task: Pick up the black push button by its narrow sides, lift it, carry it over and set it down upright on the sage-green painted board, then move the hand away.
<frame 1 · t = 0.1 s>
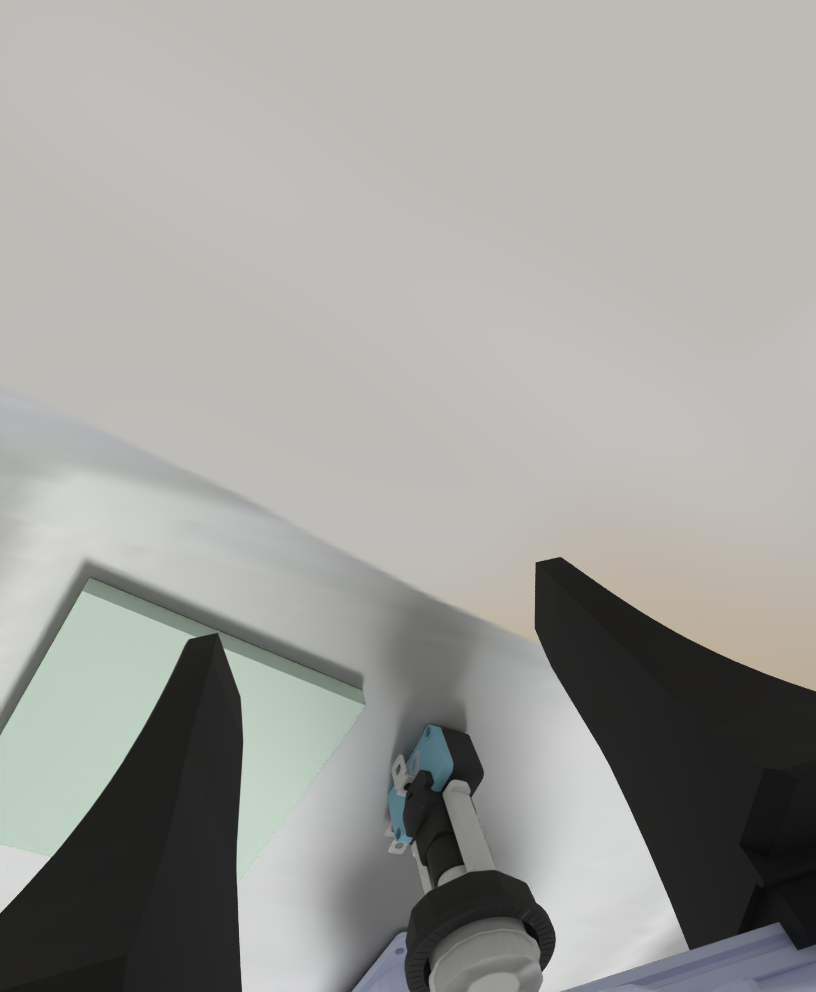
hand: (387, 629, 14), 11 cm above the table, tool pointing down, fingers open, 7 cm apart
sage board: (167, 748, 26), on the table
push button: (416, 771, 30), on the table
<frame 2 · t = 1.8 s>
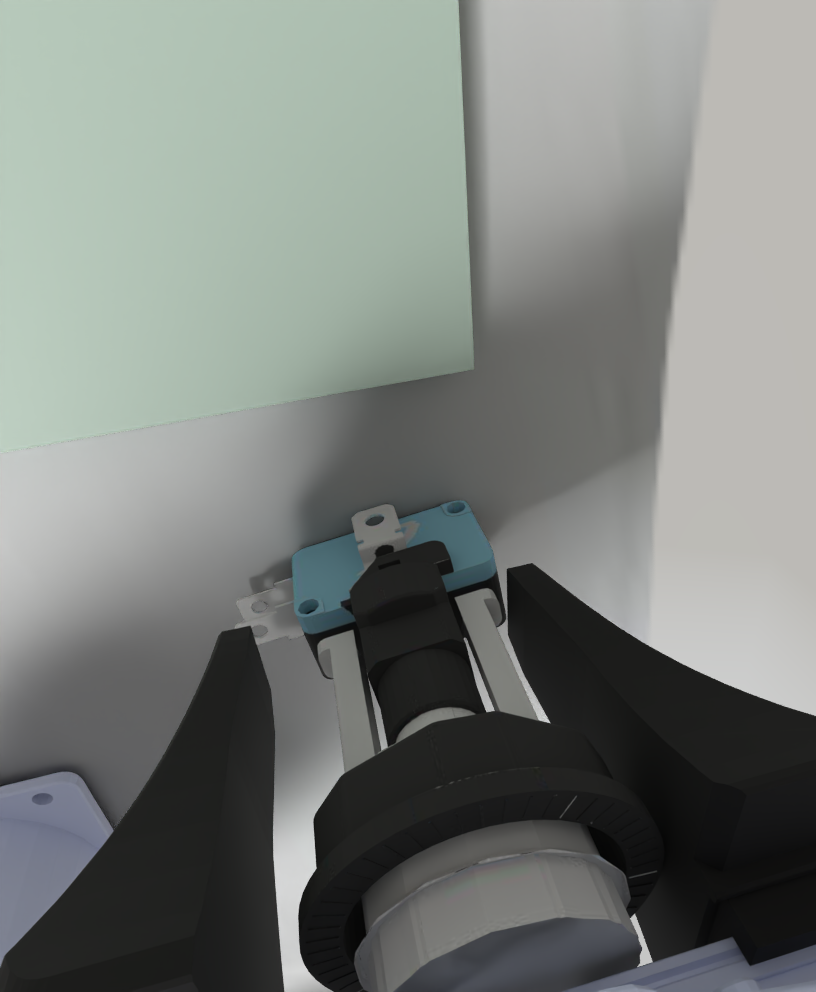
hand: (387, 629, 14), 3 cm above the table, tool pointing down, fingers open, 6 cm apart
sage board: (93, 66, 10), on the table
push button: (361, 553, 17), on the table, touching gripper
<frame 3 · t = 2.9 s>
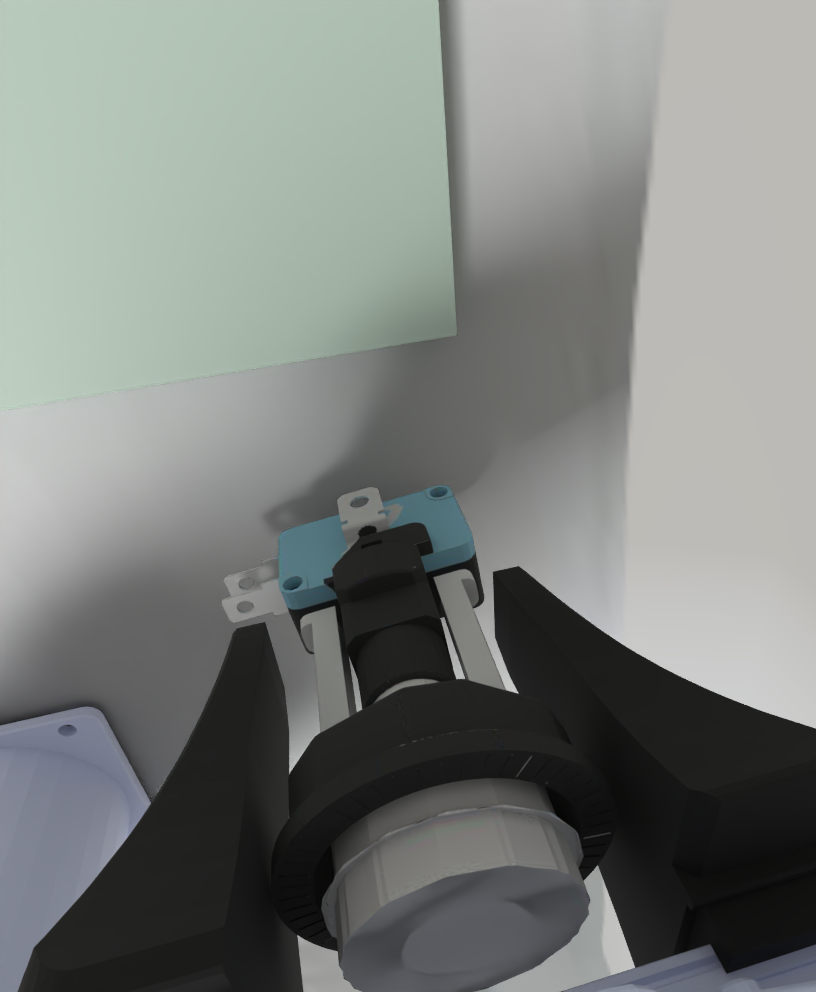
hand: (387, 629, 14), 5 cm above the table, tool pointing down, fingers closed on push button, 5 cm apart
sage board: (125, 64, 12), on the table
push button: (346, 534, 17), point 1 cm above the table, touching gripper
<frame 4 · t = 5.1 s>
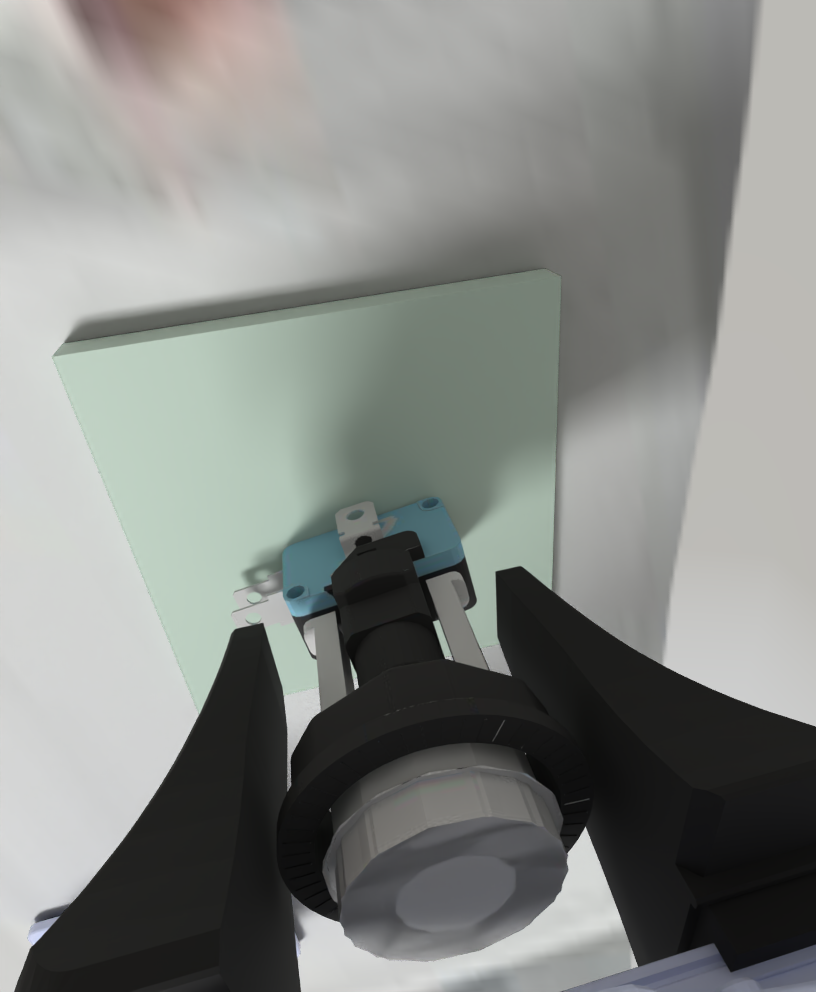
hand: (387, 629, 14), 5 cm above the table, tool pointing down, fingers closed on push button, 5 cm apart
sage board: (351, 506, 19), on the table
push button: (346, 548, 18), point 1 cm above the table, touching gripper, sage board
when the fingers open (5 cm above the table, at t = 5.6 s): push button stays where it is, resting on sage board.
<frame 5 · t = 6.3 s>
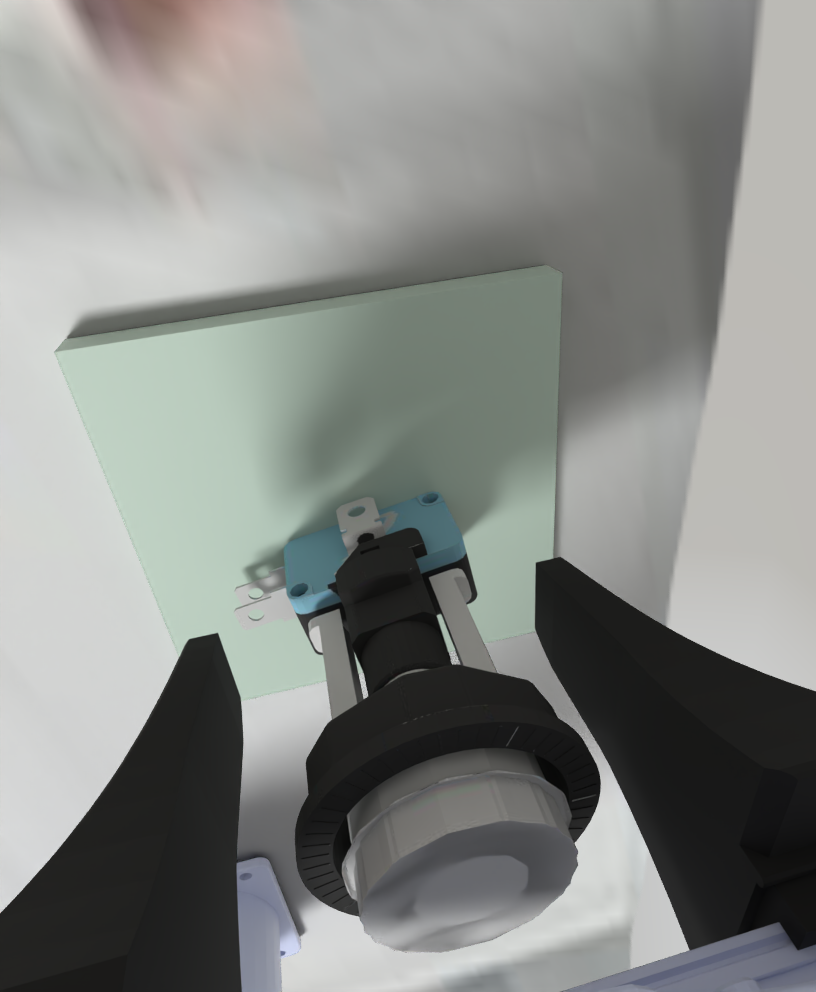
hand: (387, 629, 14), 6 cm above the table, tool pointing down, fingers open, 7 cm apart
sage board: (352, 502, 19), on the table
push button: (346, 542, 18), point 1 cm above the table, touching sage board
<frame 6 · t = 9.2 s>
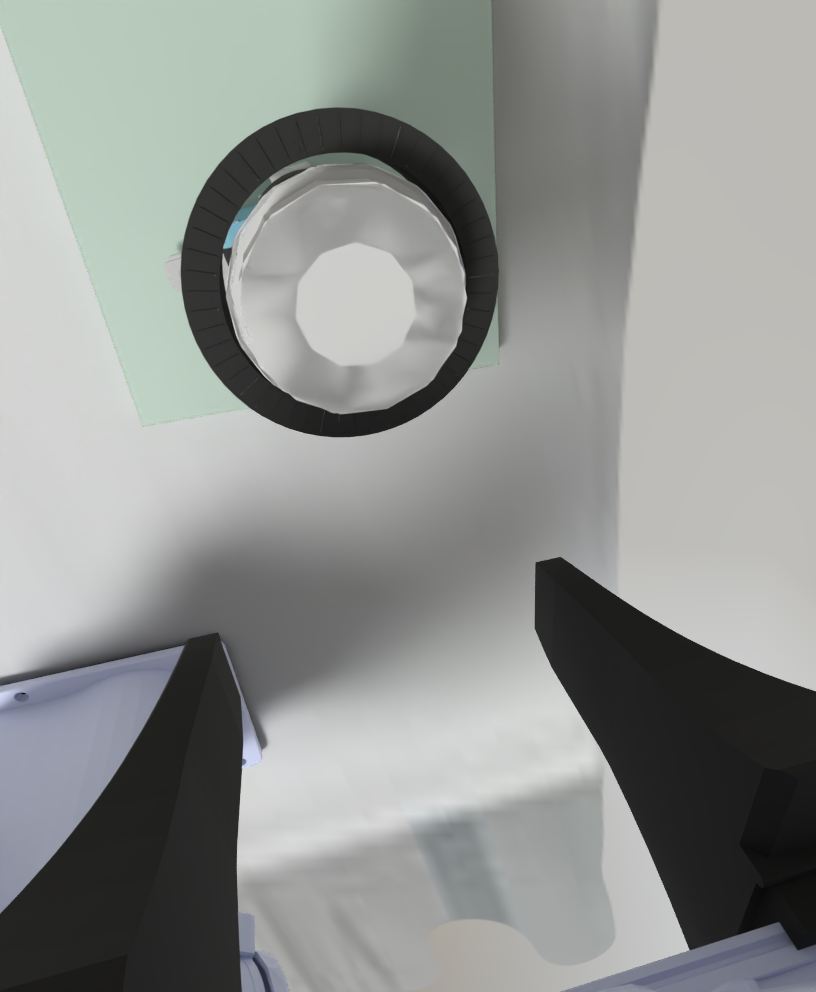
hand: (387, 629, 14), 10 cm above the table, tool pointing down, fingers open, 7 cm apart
sage board: (290, 193, 19), on the table
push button: (283, 228, 18), point 1 cm above the table, touching sage board
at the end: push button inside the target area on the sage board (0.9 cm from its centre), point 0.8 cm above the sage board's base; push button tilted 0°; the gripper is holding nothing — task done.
